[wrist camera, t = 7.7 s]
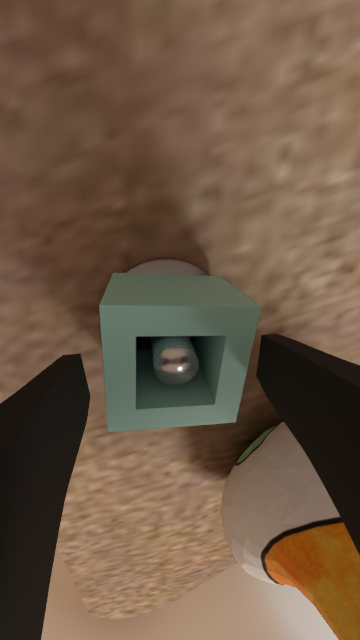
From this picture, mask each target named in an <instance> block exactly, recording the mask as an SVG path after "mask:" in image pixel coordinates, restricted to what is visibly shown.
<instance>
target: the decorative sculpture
mask: <svg viewBox="0 0 360 640" xmlns="http://www.w3.org/2000/svg"><path fill="white" fill-rule="evenodd" d="M220 512H221V518H222V525H223V531H224V534H225V537H226V539H227V542H228V544H229V547H230V550H231V552H232V553H233V555H234V556H235V558H236V559H237V561H238V562H239V564H240V565H241V566H242V568H243V569H244V571H246V572H247V573H249V574H250V575H251V576H253V577H255V578H258V579H260V580H263V581H265V582H268V583H271V584H277V585H285V584H287V585H290V586H293V587H296V588H297V589H298V590H300V591H301V593H302V594H303V595H305V597H307V598H308V599H309V600H310V601H311V602H312V603H313V604H314V605H315V607H316V608H317V610H318V611H319V612H320V614H321V615H322V617H323V618H324V619H325V621H326V622H327V624H328V625H329V626H330V628H331V629H332V630H333V632H334V634H335V635H336V636H337V638H338V639H339V640H360V555H359V553H358V551H357V549H356V547H355V545H354V543H353V541H352V539H351V537H350V535H349V533H348V531H347V529H346V527H345V525H344V523H343V521H342V519H341V517H340V515H339V513H338V511H337V509H336V507H335V506H334V504H333V502H332V500H331V498H330V496H329V494H328V492H327V490H326V489H325V487H324V485H323V483H322V481H321V479H320V478H319V476H318V474H317V472H316V471H315V469H314V467H313V465H312V464H311V462H310V460H309V458H308V457H307V455H306V453H305V452H304V450H303V449H302V447H301V446H300V444H299V443H298V441H297V440H296V438H295V437H294V436H293V434H292V433H291V431H290V430H289V428H288V427H287V425H286V424H285V423H284V422H282V423H280V424H278V425H276V426H274V427H272V428H270V429H268V430H266V431H265V432H264V433H263V434H262V435H261V436H259V437H258V438H257V439H256V440H255V441H253V443H252V444H251V445H250V446H249V447H248V448H247V449H246V451H245V452H244V453H243V454H242V455H241V456H240V458H239V459H238V461H237V462H236V464H235V465H234V467H233V468H232V470H231V472H230V475H229V477H228V479H227V481H226V483H225V485H224V489H223V494H222V502H221V511H220Z"/></svg>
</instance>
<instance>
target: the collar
mask: <svg viewBox="0 0 360 640" xmlns="http://www.w3.org/2000/svg"><path fill="white" fill-rule="evenodd" d="M99 309H100V324H101V339H102V353H103V368H104V383H105V398H106V413H107V427H108V432H120V431H133V430H145V429H158V428H171V427H184V426H197V425H210V424H223V423H235V422H236V419H237V414H238V410H239V405H240V401H241V396H242V392H243V387H244V383H245V378H246V374H247V369H248V364H249V360H250V355H251V351H252V346H253V342H254V337H255V333H256V328H257V324H258V319H259V315H260V310H261V307H260V306H259V305H258V304H256V303H255V302H254V301H252V300H251V299H250V298H249V297H247V296H246V295H245V294H243V293H242V292H241V291H239V290H238V289H237V288H235V287H234V286H233V285H231V284H230V283H229V282H227V281H226V280H225V279H224V278H222V277H221V276H196V275H167V274H139V273H113V274H112V276H111V279H110V281H109V284H108V286H107V288H106V291H105V293H104V295H103V298H102V300H101V302H100V305H99ZM137 336H194V338H193V348H194V350H195V353H196V355H197V358H198V361H199V367H198V371H197V373H196V374H195V376H194V377H193V378H192V379H190V380H189V381H187V382H185V383H183V384H179V385H169V384H166V383H163V382H162V381H160V380H159V379H158V378H157V376H156V375H155V372H154V363H153V354H152V349H148V350H137Z"/></svg>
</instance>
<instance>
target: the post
mask: <svg viewBox="0 0 360 640" xmlns="http://www.w3.org/2000/svg"><path fill="white" fill-rule="evenodd" d="M124 273H139V274H167V275H196V276H209V275H208V274H207V273H206V272H204V271H203V270H202V269H200V268H199V267H197V266H195V265H193V264H191V263H189V262H186V261H183V260H179V259H172V258H157V259H152V260H147V261H144V262H141V263H139V264H137V265H135V266H132V267H131V268H129V269H128V270H126V271H125V272H124ZM99 326H100V332H101V324H100V318H99ZM193 338H194V336H137V350H148V349H152V354H153V363H154V372H155V375H156V376H157V378H158V379H159V380H160V381H162V382H163V383H166V384H169V385H179V384H183V383H185V382H187V381H189V380H190V379H192V378H193V377H194V376H195V374H196V373H197V371H198V367H199V361H198V358H197V355H196V353H195V350H194V348H193Z"/></svg>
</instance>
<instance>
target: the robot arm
mask: <svg viewBox="0 0 360 640" xmlns="http://www.w3.org/2000/svg"><path fill="white" fill-rule="evenodd" d="M256 376H257V378H258V380H259V382H260V384H261V387H262V389H263V390H264V392H265V394H266V396H267V398H268V399H269V401H270V402H271V404H272V405H273V407H274V408H275V410H276V411H277V412H278V414H279V415H280V417H281V418H282V420H283V421H284V423H285V424H286V425H287V427H288V428H289V430H290V431H291V433H292V434H293V436H294V437H295V438H296V440H297V441H298V443H299V444H300V446H301V447H302V449H303V450H304V452H305V453H306V455H307V457H308V458H309V460H310V462H311V464H312V465H313V467H314V469H315V471H316V472H317V474H318V476H319V478H320V479H321V481H322V483H323V485H324V487H325V489H326V490H327V492H328V494H329V496H330V498H331V500H332V502H333V504H334V506H335V507H336V509H337V511H338V513H339V515H340V517H341V519H342V521H343V523H344V525H345V527H346V529H347V531H348V533H349V535H350V537H351V539H352V541H353V543H354V545H355V547H356V549H357V551H358V553H359V555H360V366H359V365H357V364H354V363H351V362H348V361H346V360H343V359H340V358H338V357H335V356H332V355H330V354H327V353H325V352H322V351H320V350H317V349H315V348H312V347H310V346H307V345H305V344H303V343H300V342H298V341H295V340H292V339H290V338H287V337H284V336H281V335H278V334H269V335H262V336H261V344H260V351H259V359H258V366H257V374H256ZM89 402H90V393H89V389H88V384H87V380H86V376H85V371H84V367H83V363H82V358H81V354H72V355H63V356H62V357H60V358H59V359H57V360H56V361H55V362H53V363H52V364H51V365H50V366H48V367H47V368H46V369H45V370H43V371H42V372H41V373H40V374H39V375H37V376H36V377H35V378H34V379H32V380H31V381H30V382H28V383H27V384H26V385H25V386H23V387H22V388H21V389H20V390H18V391H17V392H16V393H14V394H13V395H12V396H10V397H9V398H8V399H6V400H5V401H3V402H2V403H1V404H0V640H41V635H42V628H43V622H44V615H45V609H46V603H47V597H48V590H49V584H50V578H51V572H52V566H53V561H54V555H55V549H56V543H57V538H58V532H59V527H60V522H61V517H62V511H63V506H64V501H65V497H66V493H67V489H68V485H69V481H70V478H71V474H72V471H73V468H74V464H75V461H76V457H77V454H78V450H79V447H80V443H81V440H82V436H83V433H84V429H85V425H86V422H87V416H88V409H89Z"/></svg>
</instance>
